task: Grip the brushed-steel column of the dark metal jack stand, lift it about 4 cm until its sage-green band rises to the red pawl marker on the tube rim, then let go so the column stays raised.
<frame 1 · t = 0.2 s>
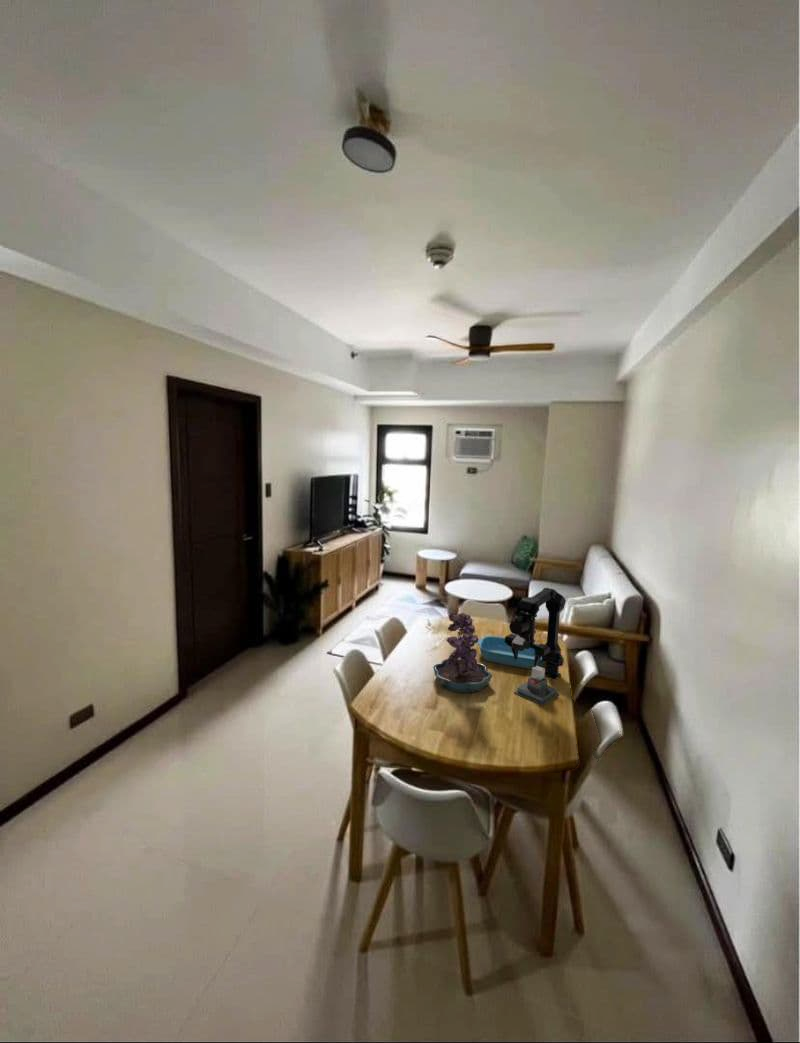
hand: (525, 663, 187), 14 cm above the table, fingers open, 9 cm apart
casserole dish: (512, 659, 224), on the table
jack stand base: (536, 693, 189), on the table
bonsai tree: (460, 685, 195), on the table
column: (537, 680, 188), point 6 cm above the table, slide at 0.0 cm
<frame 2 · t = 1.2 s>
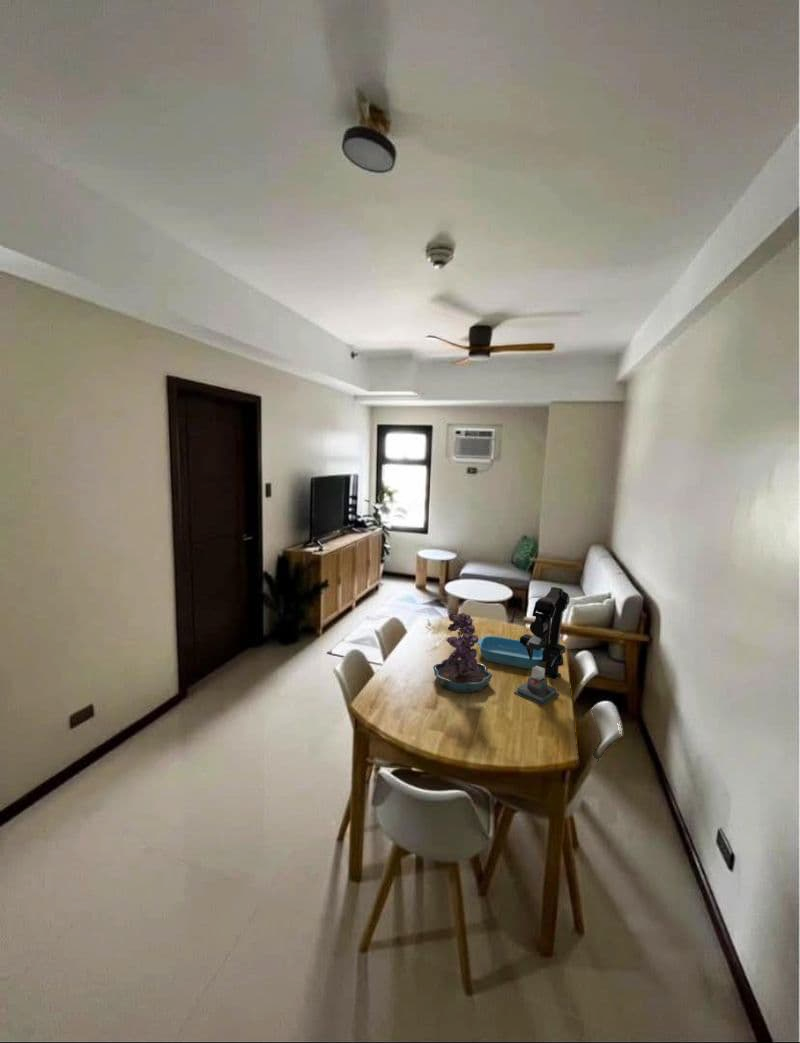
hand: (540, 663, 188), 13 cm above the table, fingers open, 9 cm apart
nothing on the table moved.
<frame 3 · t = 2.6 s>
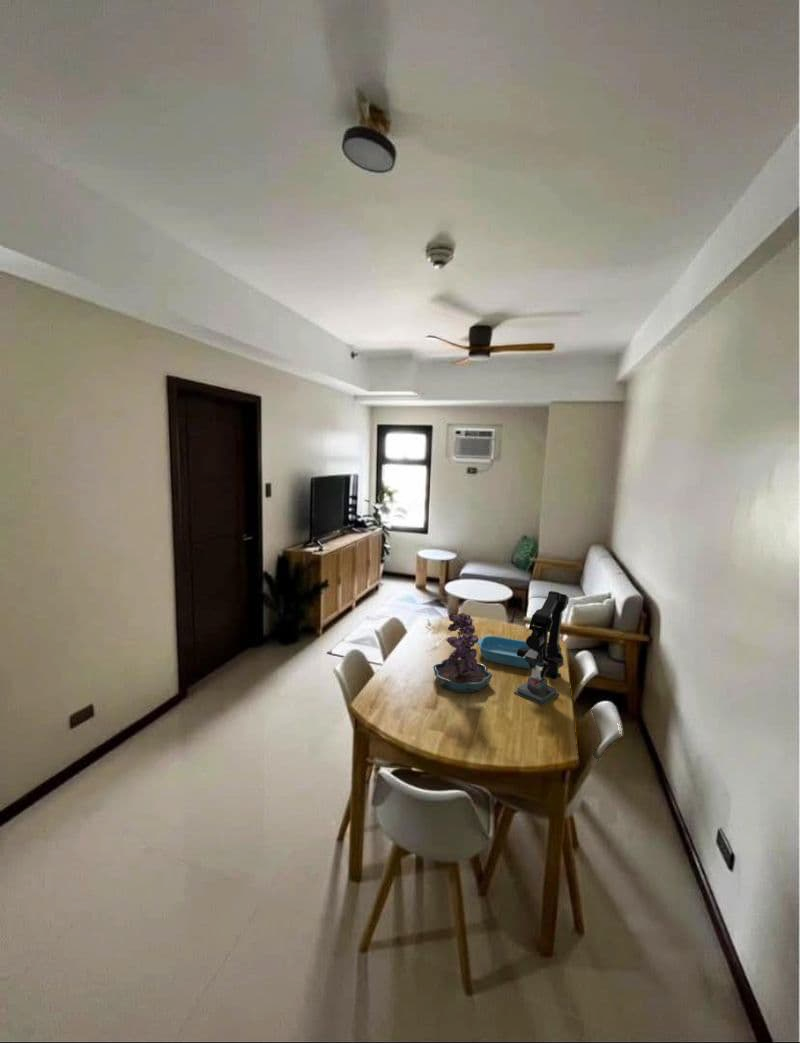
hand: (537, 676, 188), 8 cm above the table, fingers closed on column, 4 cm apart
column: (537, 680, 188), point 6 cm above the table, slide at 0.0 cm, touching gripper
everything else where it was.
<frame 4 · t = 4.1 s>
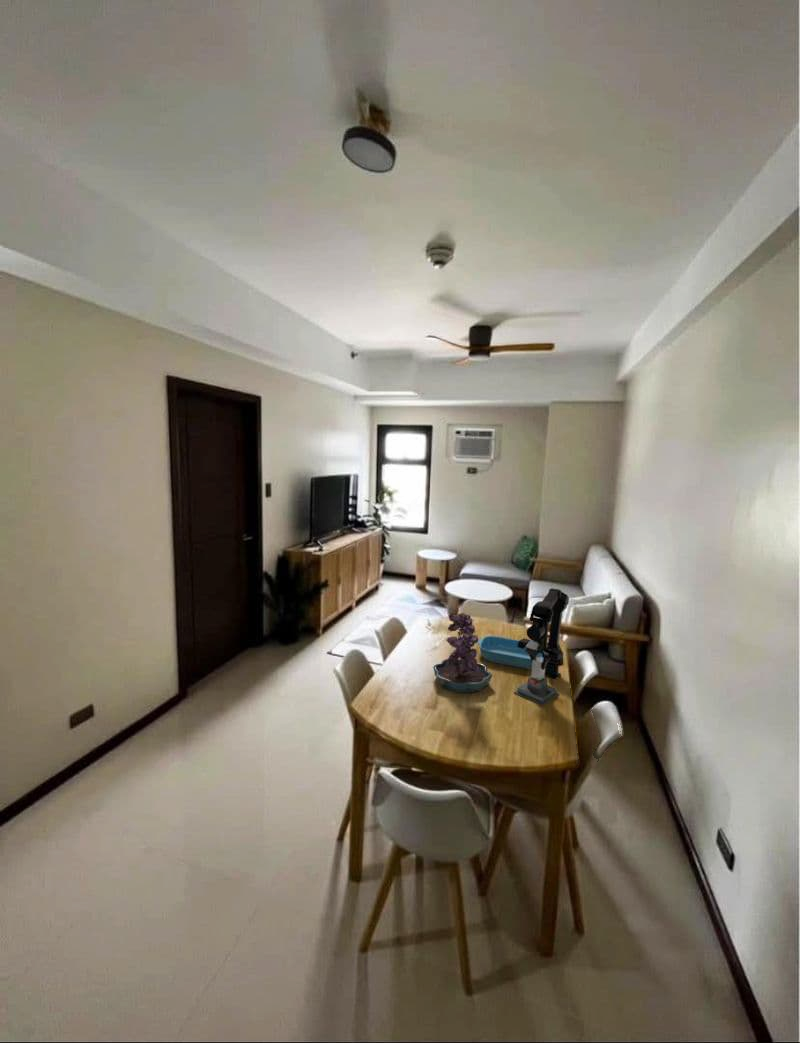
hand: (538, 667, 188), 12 cm above the table, fingers closed on column, 4 cm apart
column: (538, 671, 188), point 10 cm above the table, slide at 3.9 cm, touching gripper
everything else where it was.
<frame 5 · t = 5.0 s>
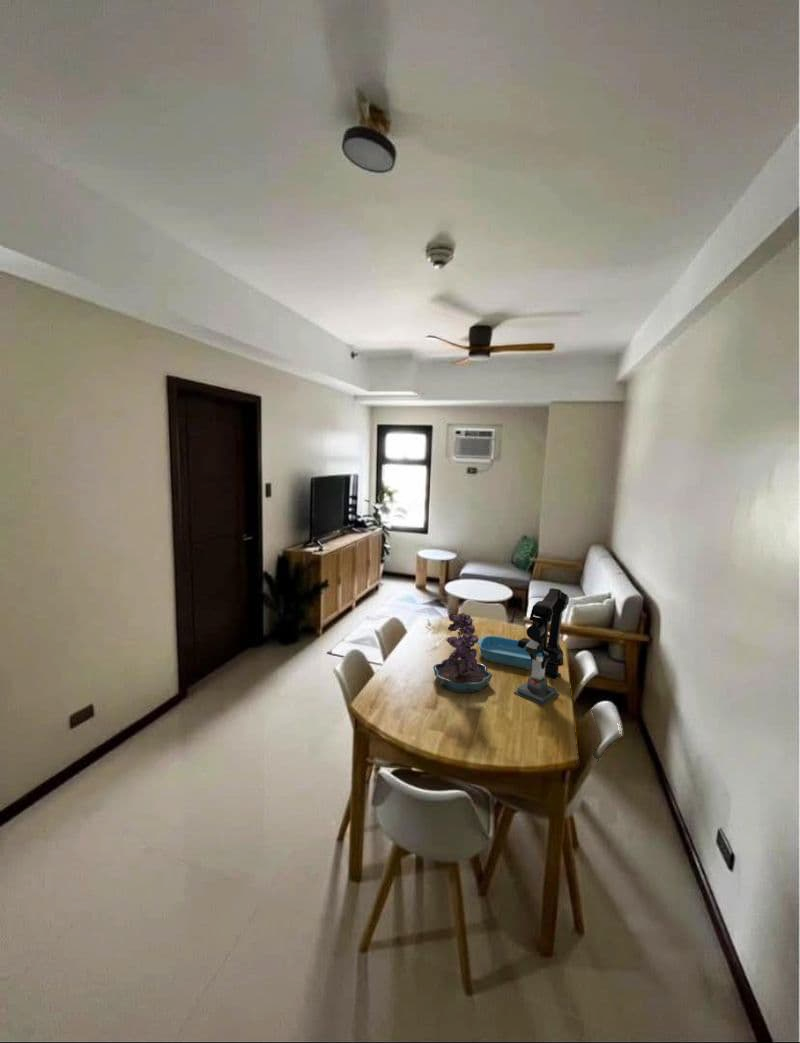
hand: (538, 667, 188), 12 cm above the table, fingers closed on column, 4 cm apart
column: (538, 671, 188), point 10 cm above the table, slide at 4.1 cm, touching gripper
everything else where it was.
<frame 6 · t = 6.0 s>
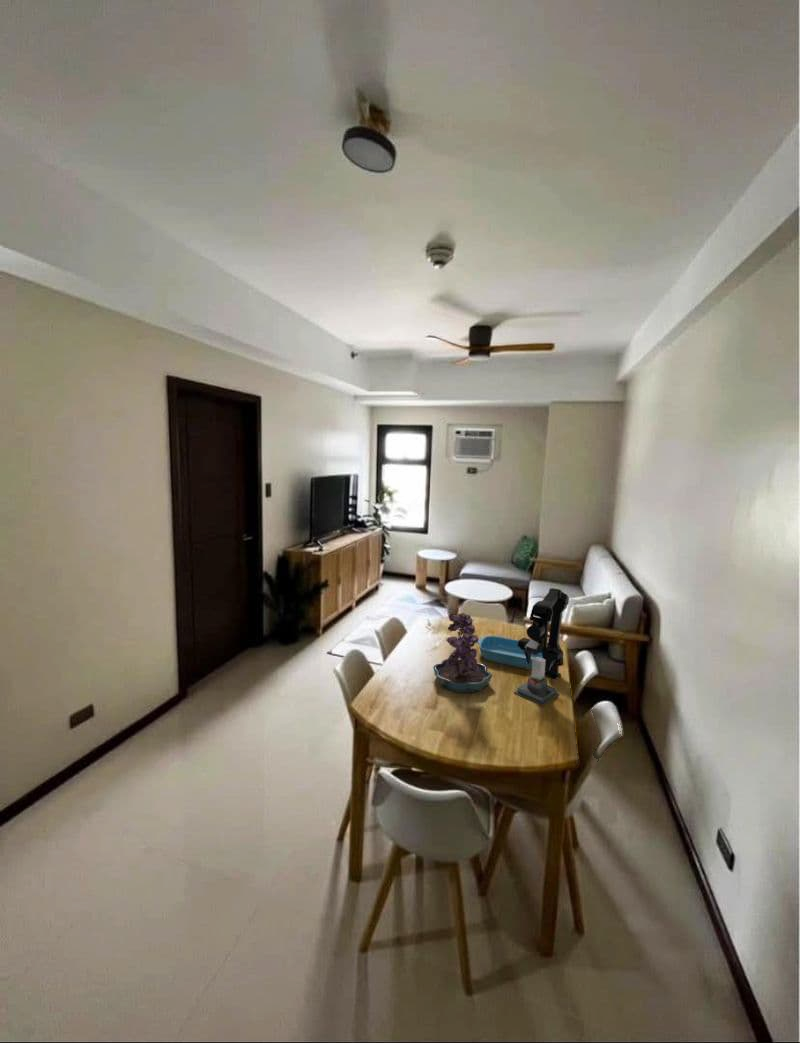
hand: (538, 667, 188), 12 cm above the table, fingers open, 9 cm apart
column: (538, 671, 188), point 10 cm above the table, slide at 4.1 cm
everything else where it was.
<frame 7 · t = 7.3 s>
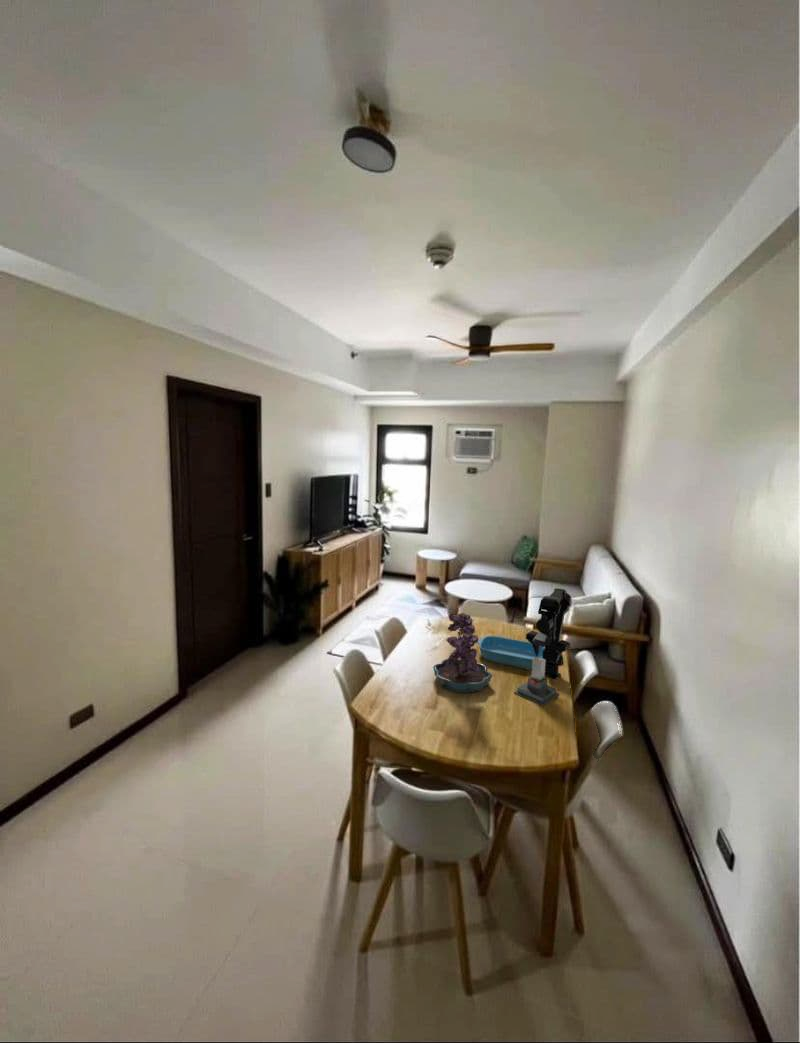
hand: (546, 658, 194), 13 cm above the table, fingers open, 9 cm apart
nothing on the table moved.
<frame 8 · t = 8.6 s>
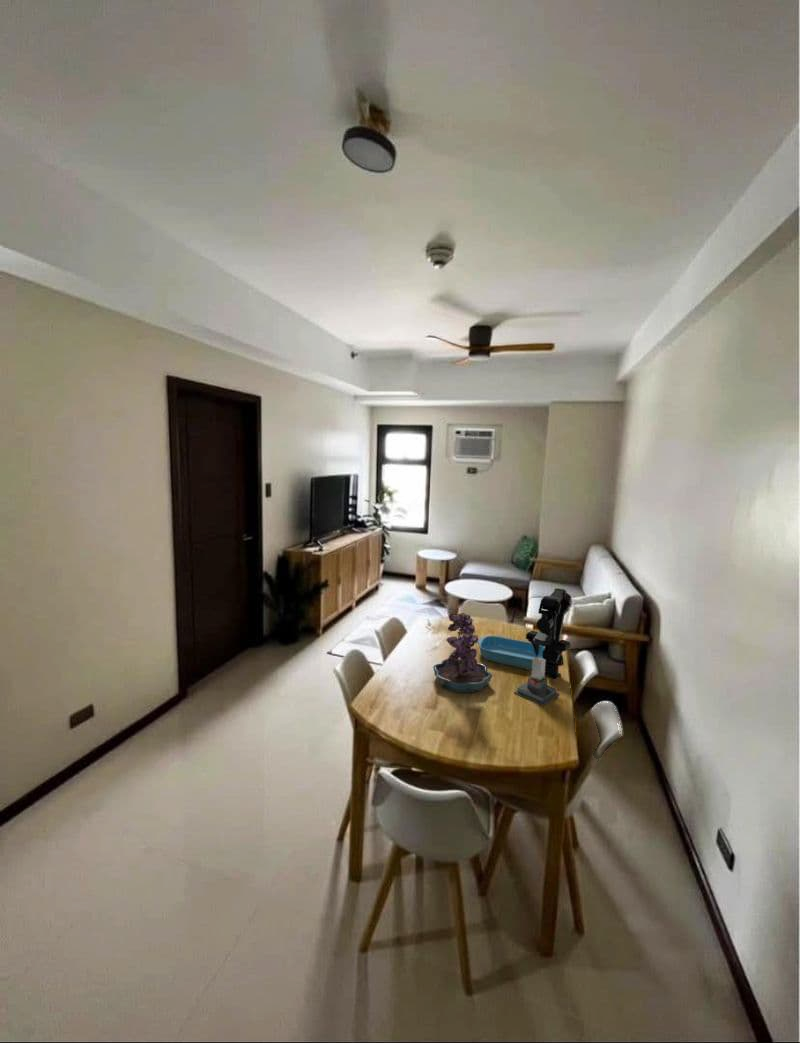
hand: (546, 658, 194), 13 cm above the table, fingers open, 9 cm apart
nothing on the table moved.
at the end: column slide at 4.1 cm; the gripper is holding nothing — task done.
